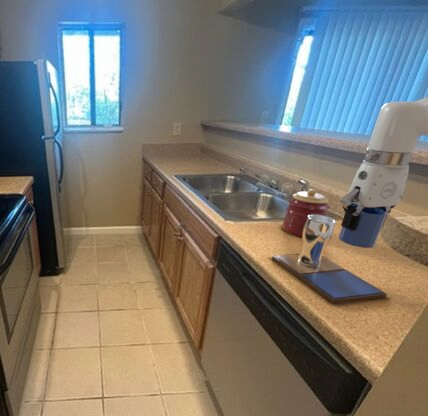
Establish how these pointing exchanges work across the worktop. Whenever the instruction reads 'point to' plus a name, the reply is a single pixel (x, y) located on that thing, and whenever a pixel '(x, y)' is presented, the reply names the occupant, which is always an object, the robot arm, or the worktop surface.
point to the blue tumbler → (365, 228)
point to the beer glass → (315, 239)
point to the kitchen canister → (303, 210)
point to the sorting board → (330, 280)
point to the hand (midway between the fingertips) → (361, 226)
